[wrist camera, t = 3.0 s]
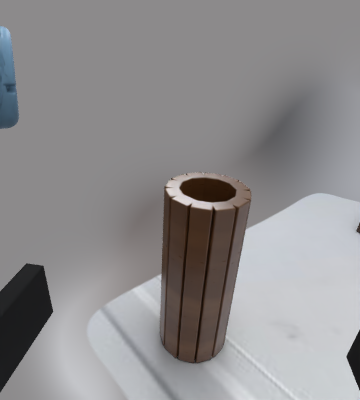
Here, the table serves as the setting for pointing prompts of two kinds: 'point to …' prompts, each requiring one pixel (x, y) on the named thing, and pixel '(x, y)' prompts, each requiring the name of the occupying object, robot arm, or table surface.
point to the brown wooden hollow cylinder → (200, 261)
